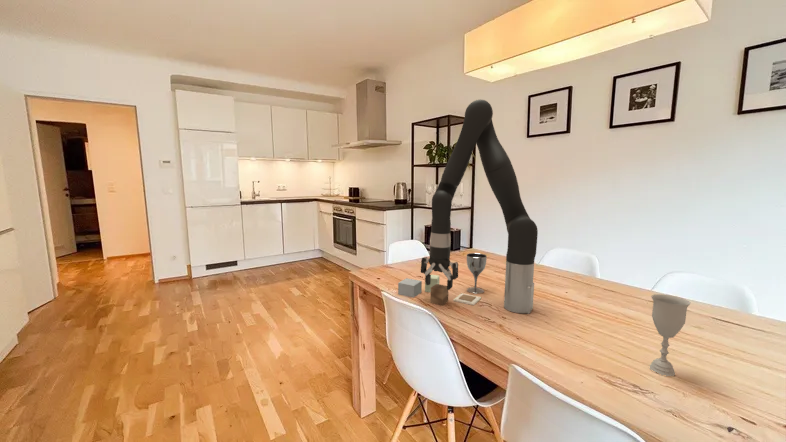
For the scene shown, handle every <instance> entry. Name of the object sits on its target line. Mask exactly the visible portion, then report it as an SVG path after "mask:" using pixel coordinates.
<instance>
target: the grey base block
mask: <svg viewBox="0 0 786 442" xmlns="http://www.w3.org/2000/svg"><path fill="white" fill-rule="evenodd" d="M422 286H423V281H422V280H417V279H413V278H407V277H406V278H404V279H402V280H401V281H399V282H398V283H397V287H398V288H397V292H398V293H397V295H399V296H403V297H409V298H413V299H414V298H415V297H417V296H418V295H420V294H422V292H423V291H422V289H423V288H422Z"/></svg>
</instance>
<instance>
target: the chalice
mask: <svg viewBox="0 0 786 442" xmlns="http://www.w3.org/2000/svg"><path fill="white" fill-rule="evenodd" d="M650 297H651V299H652V301H653V302H652V303H653V304H652V312H651V318H652V321H653V324H654V326H655V329H656V330H657V333H658V335H660V336H661V337H662V342H661V343H660V345H661V347H662V348H661V349H660V350H659V352H660V355H661V357H659V358H654V359H653V361H652V362H651V363H650V364H649V366H650V368H649V370H651V371H652V370H653V371H655V372H657V373H659V374H661V375H660V376H663V375H666V376H665V377H667V376H674V375H675V373H676V372H675V368H674V366H673V364H672V363H671V362H670V361H669V360H668V359H667V356H668V355H669V354H670V352H669V350H668V348H669V347H670V343H669V339H671V338H675V337H676V336H677V335H678V334H679V333H680V331H681V329H683V327H684V325H685V324H686V319H687V311H688V307H689V306H690V305H691V304H692V303H691V300H688V299H686V298H683V297H680V296H676V295H670V294H664V293H663V294H660V293H657V294H653V295H651V296H650ZM653 371H652V372H653ZM655 372H654V373H655ZM657 373H656V374H657ZM659 374H658V375H659ZM674 377H675V376H674Z"/></svg>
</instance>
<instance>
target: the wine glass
mask: <svg viewBox="0 0 786 442" xmlns="http://www.w3.org/2000/svg"><path fill="white" fill-rule="evenodd" d="M487 257H488V256H487V254H484V253H479V252H470V253H467V254H466V265H467V268H468V270H469V271H470V273H471V274H472V275H473V279H474V286H473V287H468V288H466V291H467V292H468V293H471V294H483V293H485V290H484V289H482V288H480V287H477V283H478V278H479V276H480V275H481V273H483V272H484V270H485V269H486V266H487Z"/></svg>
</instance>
